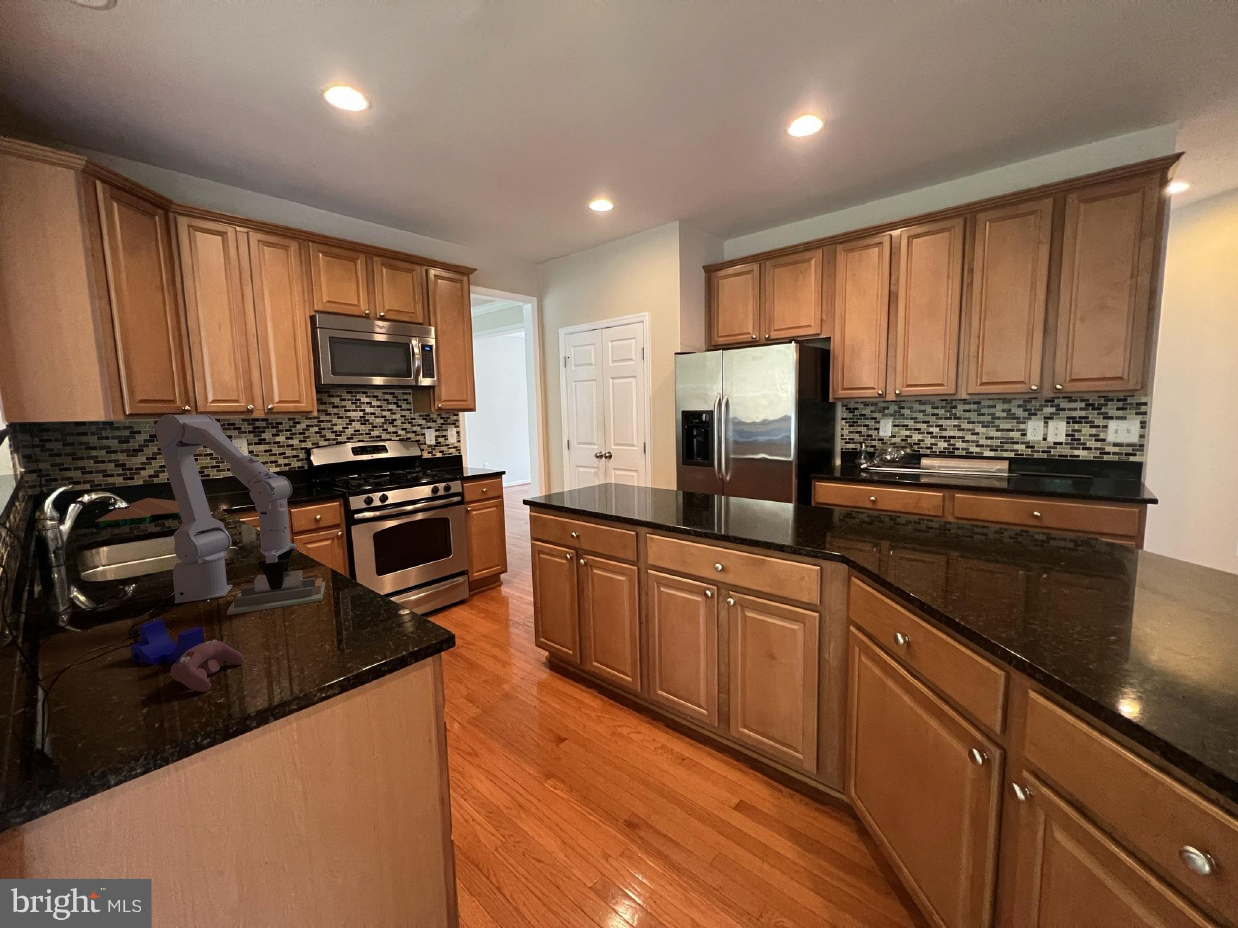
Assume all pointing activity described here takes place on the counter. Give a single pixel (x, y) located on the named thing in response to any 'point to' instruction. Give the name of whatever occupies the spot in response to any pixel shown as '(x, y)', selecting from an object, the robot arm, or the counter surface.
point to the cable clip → (163, 643)
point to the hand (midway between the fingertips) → (278, 583)
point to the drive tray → (277, 597)
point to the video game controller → (210, 657)
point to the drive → (289, 582)
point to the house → (141, 511)
